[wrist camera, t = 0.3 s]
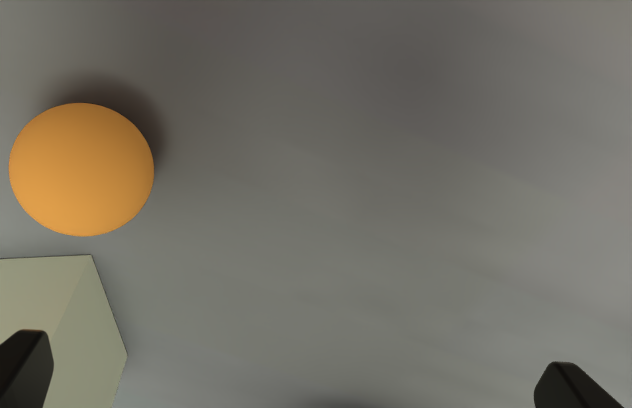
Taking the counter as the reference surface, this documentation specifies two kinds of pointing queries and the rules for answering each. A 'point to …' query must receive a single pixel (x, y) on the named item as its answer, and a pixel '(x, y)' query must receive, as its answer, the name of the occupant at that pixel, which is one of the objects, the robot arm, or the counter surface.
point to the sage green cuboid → (66, 325)
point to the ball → (81, 169)
